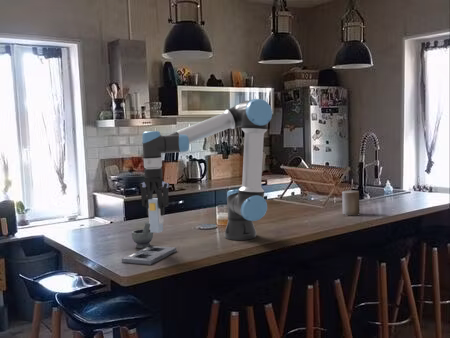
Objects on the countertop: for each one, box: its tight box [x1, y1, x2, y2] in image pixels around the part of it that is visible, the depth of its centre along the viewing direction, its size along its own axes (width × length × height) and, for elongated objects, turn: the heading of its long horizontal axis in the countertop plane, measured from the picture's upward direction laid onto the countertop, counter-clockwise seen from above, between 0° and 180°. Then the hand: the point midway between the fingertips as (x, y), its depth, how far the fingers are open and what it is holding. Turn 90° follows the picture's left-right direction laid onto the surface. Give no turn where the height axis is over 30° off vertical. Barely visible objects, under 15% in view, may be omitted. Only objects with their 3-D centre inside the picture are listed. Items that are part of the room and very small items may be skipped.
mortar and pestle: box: [131, 220, 154, 249], centre depth 219 cm, size 11×9×12 cm
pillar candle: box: [341, 189, 361, 216], centre depth 282 cm, size 10×10×15 cm
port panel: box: [121, 245, 177, 266], centre depth 201 cm, size 22×13×2 cm, turn 158°
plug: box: [148, 197, 164, 234], centre depth 204 cm, size 4×5×14 cm
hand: (156, 222), depth 205 cm, fingers closed on plug, 4 cm apart
